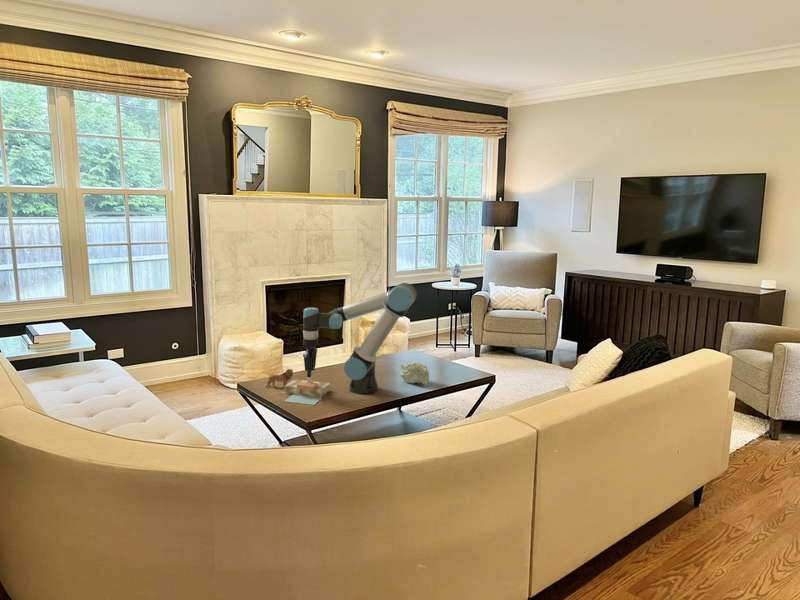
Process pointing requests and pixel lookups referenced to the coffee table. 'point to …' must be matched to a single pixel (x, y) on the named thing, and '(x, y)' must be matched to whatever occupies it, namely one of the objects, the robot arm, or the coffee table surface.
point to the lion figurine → (281, 378)
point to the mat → (303, 399)
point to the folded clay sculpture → (415, 373)
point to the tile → (307, 385)
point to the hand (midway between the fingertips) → (310, 382)
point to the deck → (318, 392)
